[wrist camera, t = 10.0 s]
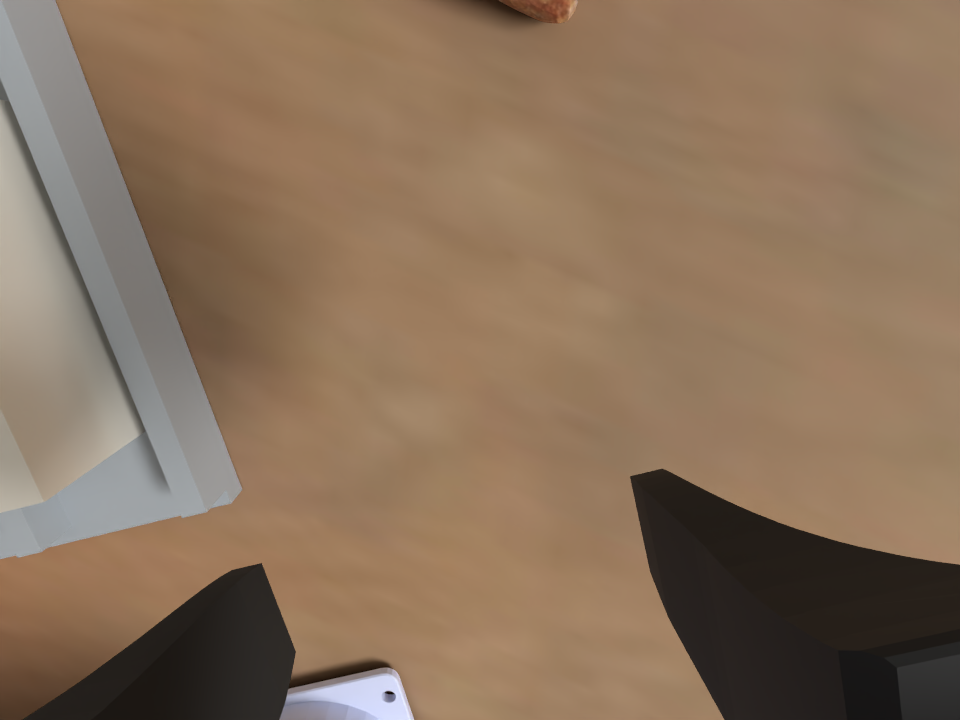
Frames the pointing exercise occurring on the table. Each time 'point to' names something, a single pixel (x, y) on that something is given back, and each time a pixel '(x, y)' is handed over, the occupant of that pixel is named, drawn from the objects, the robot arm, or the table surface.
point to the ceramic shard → (545, 9)
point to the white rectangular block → (49, 345)
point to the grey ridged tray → (108, 306)
